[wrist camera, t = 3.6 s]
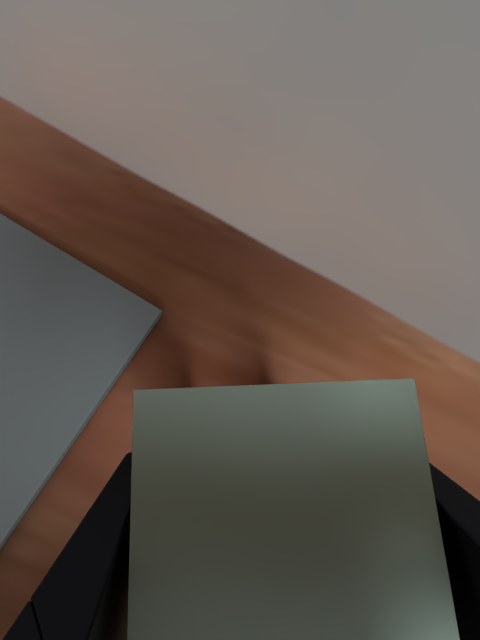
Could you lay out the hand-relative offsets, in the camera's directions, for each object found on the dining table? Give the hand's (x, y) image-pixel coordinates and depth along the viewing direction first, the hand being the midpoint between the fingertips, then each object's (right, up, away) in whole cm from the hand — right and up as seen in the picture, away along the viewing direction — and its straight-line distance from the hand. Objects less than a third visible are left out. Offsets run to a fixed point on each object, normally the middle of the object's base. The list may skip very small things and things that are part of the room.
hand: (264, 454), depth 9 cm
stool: (-1, -4, +8) cm, 9 cm away
